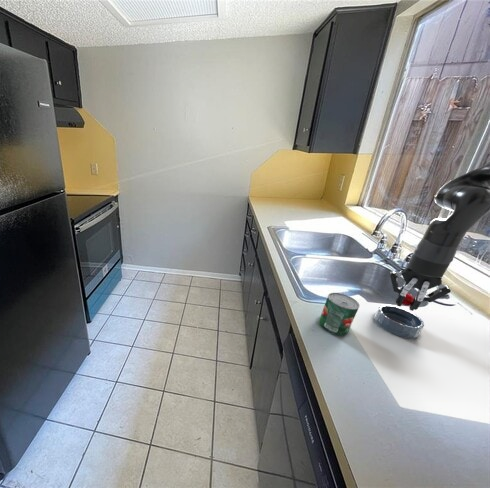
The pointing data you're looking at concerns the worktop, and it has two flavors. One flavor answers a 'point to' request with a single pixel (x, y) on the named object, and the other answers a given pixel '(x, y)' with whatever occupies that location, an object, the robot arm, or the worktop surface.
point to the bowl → (401, 315)
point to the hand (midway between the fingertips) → (404, 306)
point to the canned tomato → (338, 313)
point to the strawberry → (408, 299)
